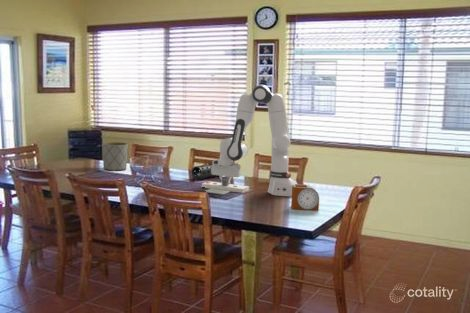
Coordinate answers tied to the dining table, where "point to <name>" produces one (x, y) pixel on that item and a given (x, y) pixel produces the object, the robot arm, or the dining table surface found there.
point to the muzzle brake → (202, 172)
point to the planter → (115, 155)
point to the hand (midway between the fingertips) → (225, 182)
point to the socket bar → (225, 187)
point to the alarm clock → (304, 197)
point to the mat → (217, 191)
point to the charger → (225, 181)
